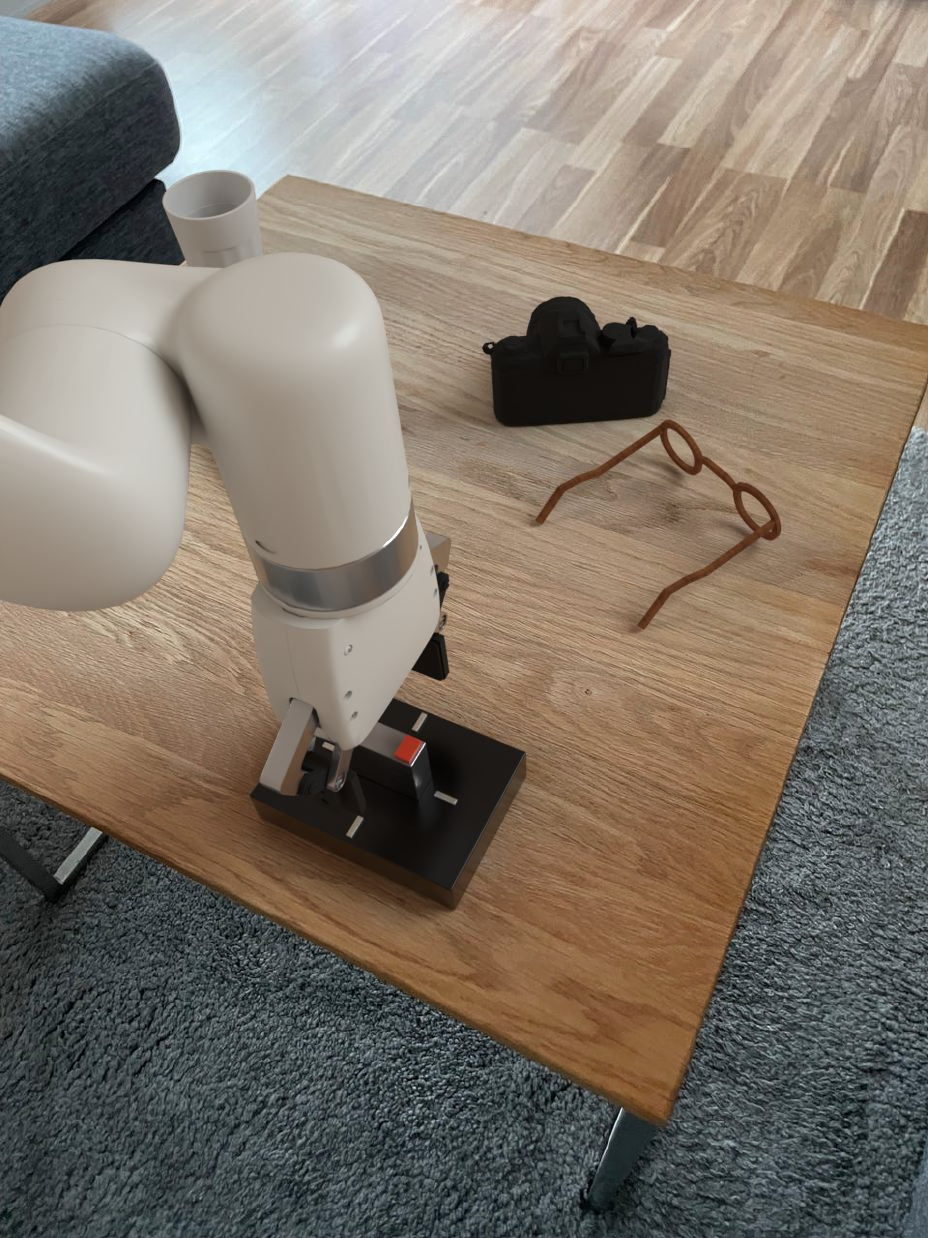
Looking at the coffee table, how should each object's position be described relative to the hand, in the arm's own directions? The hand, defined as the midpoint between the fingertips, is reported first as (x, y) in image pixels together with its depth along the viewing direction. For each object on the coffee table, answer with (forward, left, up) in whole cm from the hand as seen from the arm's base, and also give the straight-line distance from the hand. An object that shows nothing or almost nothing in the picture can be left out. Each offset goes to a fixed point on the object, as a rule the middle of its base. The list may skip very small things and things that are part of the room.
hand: (384, 732), depth 59 cm
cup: (-5, +55, -8) cm, 55 cm away
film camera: (+22, +35, -8) cm, 42 cm away
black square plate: (0, 0, -8) cm, 8 cm away
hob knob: (0, 0, -5) cm, 5 cm away
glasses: (+23, +17, -8) cm, 29 cm away
